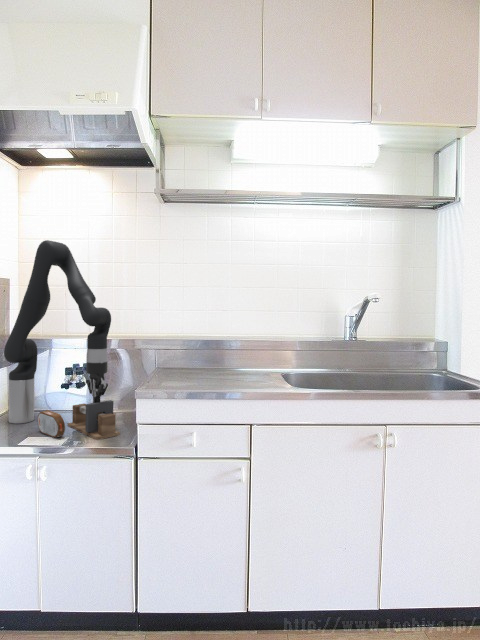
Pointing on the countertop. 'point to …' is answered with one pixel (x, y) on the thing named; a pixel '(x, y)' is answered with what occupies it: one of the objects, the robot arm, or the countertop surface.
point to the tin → (51, 423)
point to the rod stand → (104, 423)
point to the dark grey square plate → (92, 413)
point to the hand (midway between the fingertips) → (96, 406)
